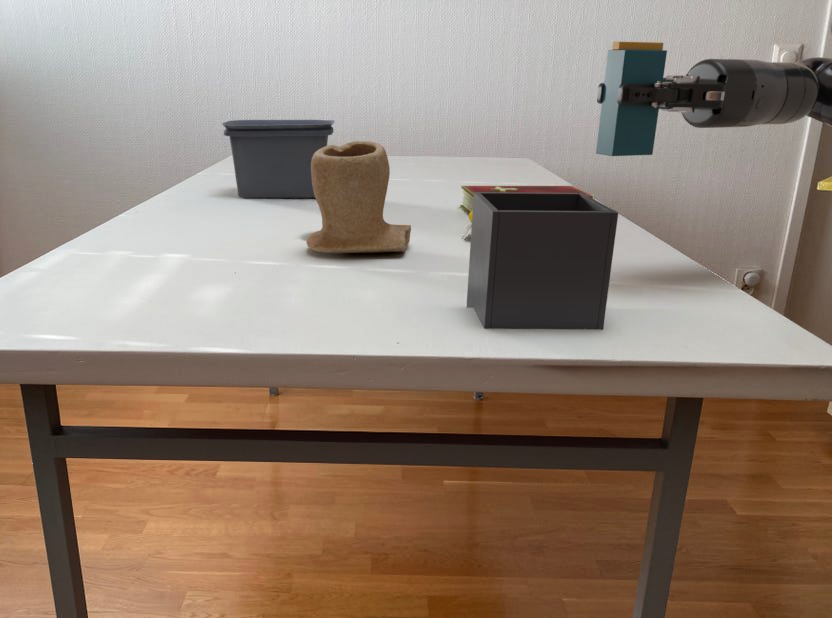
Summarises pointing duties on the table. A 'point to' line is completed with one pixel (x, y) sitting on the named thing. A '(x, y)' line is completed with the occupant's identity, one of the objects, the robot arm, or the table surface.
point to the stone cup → (354, 200)
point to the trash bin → (540, 260)
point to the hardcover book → (469, 191)
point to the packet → (629, 124)
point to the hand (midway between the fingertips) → (610, 93)
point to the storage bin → (275, 155)
